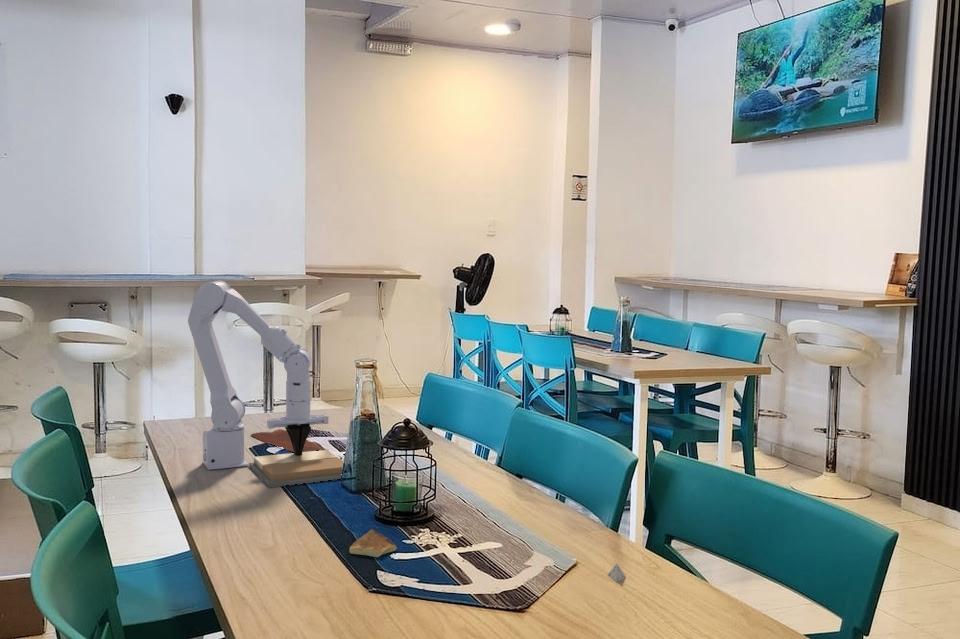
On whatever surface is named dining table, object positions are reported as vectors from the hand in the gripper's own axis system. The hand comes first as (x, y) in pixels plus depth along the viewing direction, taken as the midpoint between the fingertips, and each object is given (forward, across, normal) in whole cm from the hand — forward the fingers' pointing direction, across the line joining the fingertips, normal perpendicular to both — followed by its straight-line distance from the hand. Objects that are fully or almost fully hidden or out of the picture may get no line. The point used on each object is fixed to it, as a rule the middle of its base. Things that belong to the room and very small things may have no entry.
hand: (298, 455), depth 213 cm
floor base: (+2, -1, -6) cm, 7 cm away
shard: (+3, -4, -60) cm, 60 cm away
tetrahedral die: (+3, +28, -90) cm, 94 cm away
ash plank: (+1, -1, -2) cm, 3 cm away
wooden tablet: (+3, +4, +23) cm, 23 cm away
